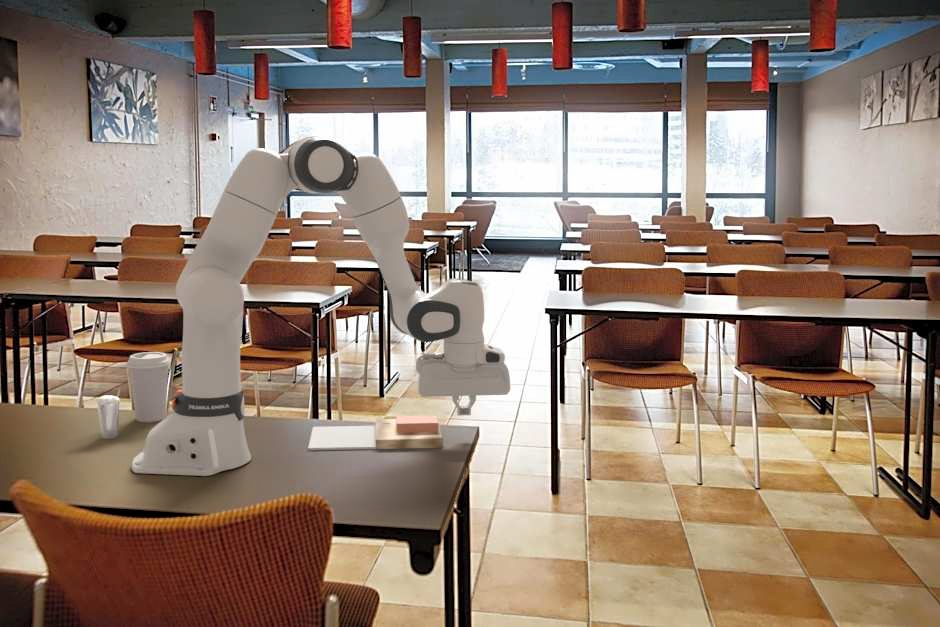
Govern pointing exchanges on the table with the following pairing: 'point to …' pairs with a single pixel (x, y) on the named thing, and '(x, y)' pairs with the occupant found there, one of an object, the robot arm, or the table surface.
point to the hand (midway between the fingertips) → (463, 414)
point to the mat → (343, 438)
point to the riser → (404, 437)
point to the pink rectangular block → (416, 424)
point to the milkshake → (108, 415)
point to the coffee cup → (149, 385)
